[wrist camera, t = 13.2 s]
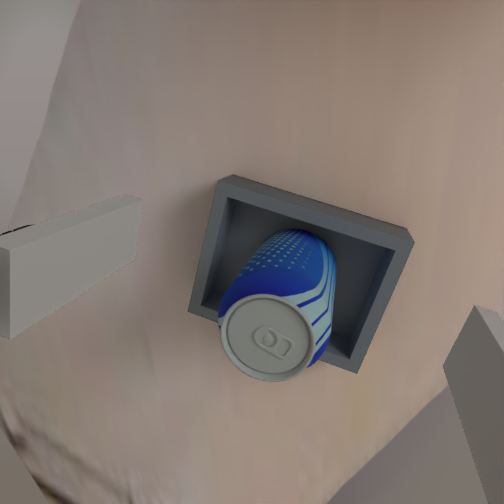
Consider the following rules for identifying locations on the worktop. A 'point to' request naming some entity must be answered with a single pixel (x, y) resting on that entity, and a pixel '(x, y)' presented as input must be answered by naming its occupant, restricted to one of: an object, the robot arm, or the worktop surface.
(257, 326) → the beer can
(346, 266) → the caddy
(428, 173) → the worktop surface
